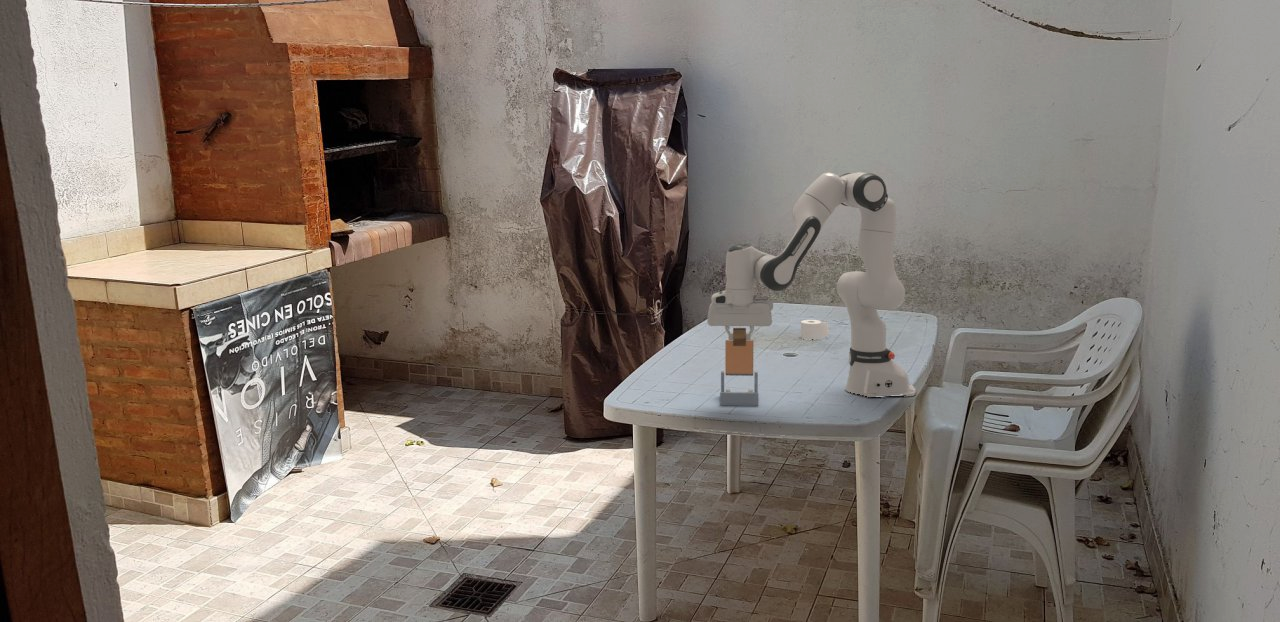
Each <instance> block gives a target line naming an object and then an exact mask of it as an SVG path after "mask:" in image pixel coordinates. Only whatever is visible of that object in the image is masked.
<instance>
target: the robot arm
mask: <svg viewBox="0 0 1280 622" xmlns="http://www.w3.org/2000/svg"><path fill="white" fill-rule="evenodd" d="M805 189H806V190H804V192H803V193H802V194H801V195H800V196H799V198H798V200H797V201H796V202H795V204H794V206H793V209H792V212H791V215H792V219H793V222H794V224H795V231H794V233H793V236H792V237H791V238H790V240H789V242H787V245H786V246H785V248H784V249H783V251H782V252H781V253H779V254H778V255H776V256H775V255H774V254H769V253H766V252H763V251H761V250H759V249H758V248H755V247H753V246H752V244H749V243H741V244H736V245H733V246H731V247H729V248H728V250H727V253H726V257H725V277H726V284H725V290H722V291H718V292H715V293H713V294H712V295H711V297H710V298H711V303H710V304H709V307H708V311H707V325H708V326H709V327H724V330H725V332H726V333H727V335H728V340H733V332H732V333H731V331H730V327H749V332H747V333H746V340H752V339H751V335H752V334H753V332H754V330H755V327H771V325H772V323H773V318H772V310H773V308H774V301H773V299H772V298H770V297H769V296H755V284H760V285H762V286H765V287H767V289H770V290H771V291H774V292H775V291H776V292H781V291H783V290H786V289H787V288H789V287H790V286H791V284H792V283H793V281H794V280H795V276H796V273H797V270H798V267H799V266H800V264H801V262H802V261H803V259H804V258H805V257H806V255H807V253H808V251H809V250H810V249H811V247H812V246H813V244H814V242H816V239H817V237H818V236H819V234H820V231H821V229H822V227H823V226H824V225H825V223H826V222H827V221H828V219H829V218H830V217H831V215H832V214H833V213H834V211H835V210H836V209H837V207H838V206H839V205H842V206H844V207H845V206H846V207H851V208H858V209H859V210H860V217H861V221H860V227H859V234H858V243H857V255H858V257H859V258H860V259H861V260H862V262H863V264H864V268H865V271H860V270H856V271H847V272H844V273H843V274H841V275H840V276H839V279H838V280H837V282H836V292H837V295H838V296H839V298H840V299H841V300H842V302H843V304H844V305H845V308H846V311H847V313H848V316H849V319H850V321H849V322H850V331H851V333H850V335H851V336H850V337H851V339H850V341H851V342H850V348H849V352H848V354H849V357H848V362H849V371H848V377H847V382H846V384H845V387H844V390H845V391H846V392H848V393H850V392H851V393H850V394H853V393H855V394H854V395H857V394H860V395H859V396H862V395H864V396H863V397H865V396H867V397H866V398H868V397H876V396H891V395H900V394H903V395H906V396H905V397H913V396H915V395H916V391H917V389H916V388H915V386H913V385H912V384H911V383H910V381H909V376H908V374H907V372H906V370H904V369H903V368H902V367H901V366H900V365H898V364H897V363H896V362H894V359H895V357H896V354H895V353H894V352H893V351H892V350H890V349H889V348H887V326H886V323H885V322H884V320H883V319H882V318H881V317H880V315H879V312H878V310H880V311H890V310H891V311H892V310H897V309H898V308H899V307H901V305H902V304H903V303H904V301H905V296H906V290H905V286H904V284H903V283H902V281H901V280H900V279H899V277H898V274H897V272H896V268H895V264H894V245H895V238H896V237H895V236H896V235H895V233H896V227H897V209H896V204H895V202H894V200H893V199H891V198H890V197H889V196H888V191H887V185H886V183H885V181H884V180H883V179H882V177H880V175H877V174H875V173H871V172H863V171H858V172H851V173H850V172H846V173H844V174H841V175H837V174H836V173H833V172H829V171H828V172H824V173H821V175H819V176H818V177H817V178H815V179H814V181H812V183H811V184H810V185H809V186H808V187H807V188H805Z"/></svg>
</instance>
